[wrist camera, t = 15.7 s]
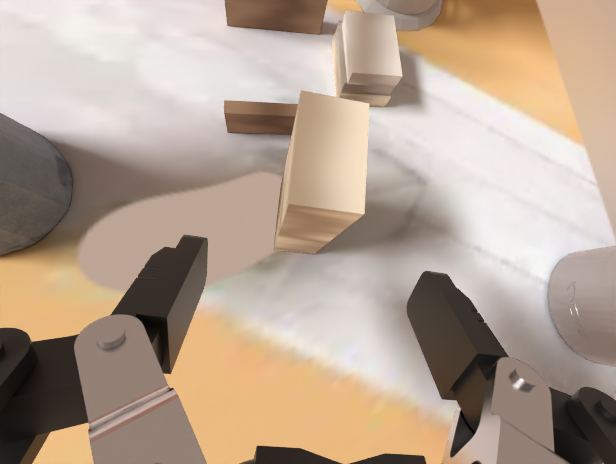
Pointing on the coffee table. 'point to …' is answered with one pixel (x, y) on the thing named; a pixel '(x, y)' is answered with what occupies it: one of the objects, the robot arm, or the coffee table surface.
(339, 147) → the light wooden block
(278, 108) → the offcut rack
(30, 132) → the moka pot
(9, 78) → the coffee table surface
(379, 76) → the offcut stack
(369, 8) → the french press
